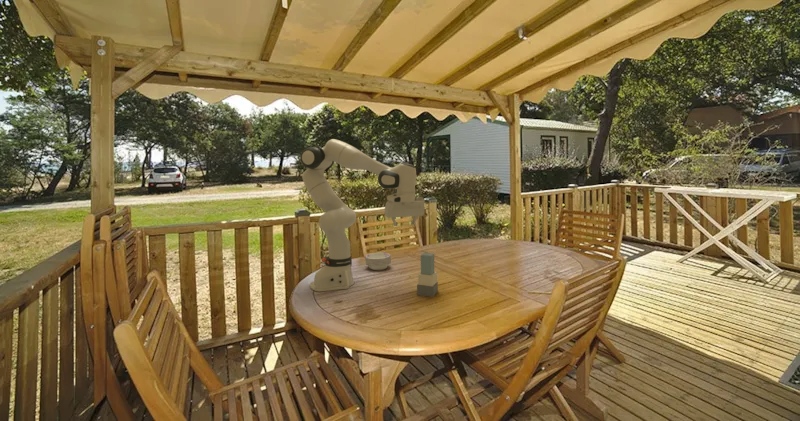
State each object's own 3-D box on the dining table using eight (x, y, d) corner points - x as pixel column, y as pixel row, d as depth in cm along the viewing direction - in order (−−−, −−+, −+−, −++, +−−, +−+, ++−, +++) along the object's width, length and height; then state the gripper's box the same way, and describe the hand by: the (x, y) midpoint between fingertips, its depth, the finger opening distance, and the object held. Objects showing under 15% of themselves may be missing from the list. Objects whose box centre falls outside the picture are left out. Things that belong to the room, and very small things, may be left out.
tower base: (433, 297, 169) (433, 286, 168) (417, 295, 172) (417, 285, 171) (437, 291, 176) (437, 281, 176) (421, 289, 179) (421, 279, 178)
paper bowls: (361, 266, 220) (361, 253, 219) (385, 263, 226) (385, 251, 225) (370, 273, 206) (370, 259, 205) (395, 269, 213) (394, 256, 212)
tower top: (432, 286, 169) (432, 276, 168) (418, 284, 172) (418, 274, 171) (437, 282, 175) (437, 271, 174) (423, 280, 178) (423, 270, 177)
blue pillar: (430, 274, 170) (430, 256, 168) (420, 273, 172) (420, 255, 171) (434, 271, 174) (434, 253, 173) (424, 270, 176) (424, 252, 175)
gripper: (421, 195, 181) (420, 222, 184) (383, 196, 173) (382, 224, 175) (428, 197, 176) (426, 225, 179) (389, 198, 167) (387, 228, 170)
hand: (404, 225), depth 177 cm, fingers open, 8 cm apart
